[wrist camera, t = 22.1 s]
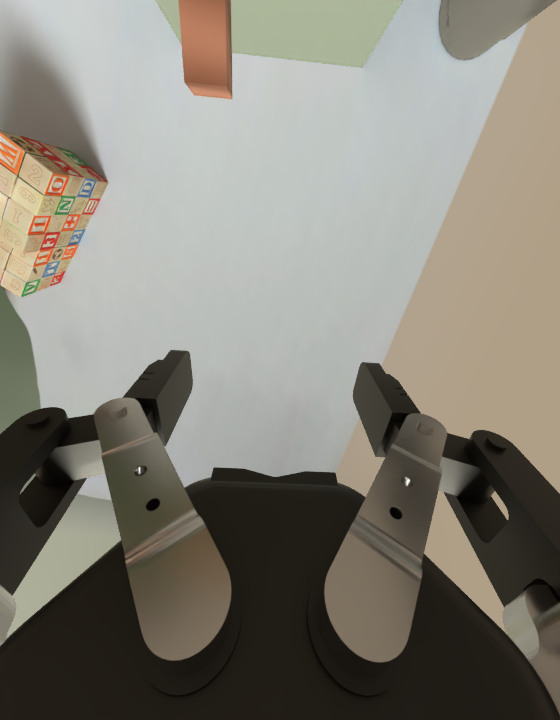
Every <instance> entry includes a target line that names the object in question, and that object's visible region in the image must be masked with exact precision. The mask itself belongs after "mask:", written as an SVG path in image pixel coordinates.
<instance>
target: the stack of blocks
mask: <svg viewBox="0 0 560 720" xmlns="http://www.w3.org/2000/svg"><path fill="white" fill-rule="evenodd" d="M107 185H108V182H107V181H106V180H105V179H103V178H102V177H101V176H100V175H99V174H97V173H96V172H95V171H94V170H92V169H91V168H90V167H88V166H87V165H86V164H85V163H84V162H82V161H81V160H80V159H79V158H78V157H76V156H75V155H74V154H73V153H72V152H70V151H68V150H65V149H62V148H58V147H54V146H51V145H47V144H44V143H41V142H38V141H35V140H32V139H29V138H25V137H22V136H17V135H13V134H10V133H7V132H4V131H0V285H1V286H3V287H4V288H6V289H8V290H9V291H11V292H13V293H14V294H16V295H18V296H19V297H23V296H26V295H29V294H32V293H35V292H36V291H38V290H41V289H44V288H47V287H49V286H52V285H55V284H58V283H60V282H61V280H62V277H63V275H64V273H65V270H67V268H68V266H69V264H70V262H71V259H72V257H73V255H74V253H75V251H76V249H77V247H78V245H79V244H78V243H79V242H80V240H81V238H82V235H83V233H84V231H85V229H86V227H87V225H88V223H89V220H90V218H91V216H92V214H93V213H94V211H95V209H96V207H97V205H98V203H99V201H100V198H101V197H102V195H103V193H104V191H105V189H106V187H107Z"/></svg>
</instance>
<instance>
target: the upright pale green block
mask: <svg viewBox="0 0 560 720" xmlns="http://www.w3.org/2000/svg"><path fill="white" fill-rule="evenodd" d="M156 2H157V4H158V5H159V7H160V9H161V11H162V12H163V14H164V16H165V17H166V19H167V21H168V23H169V24H170V26H171V28H172V29H173V31H174V33H175V35H176V36H177V38H178V40H179V41H180V43H181V45H182V42H181V29H180V15H179V2H178V0H156ZM402 2H403V0H231V36H232V53H238V54H247V55H256V56H264V57H273V58H282V59H290V60H299V61H308V62H316V63H325V64H334V65H343V66H351V67H360V68H363V66H364V64H365V63H366V61H367V59H368V58H369V56H370V54H371V53H372V51H373V49H374V48H375V46H376V44H377V43H378V41H379V39H380V38H381V36H382V35H383V33H384V31H385V30H386V28H387V26H388V25H389V23H390V21H391V20H392V18H393V16H394V15H395V13H396V11H397V10H398V8H399V6H400V5H401V3H402Z"/></svg>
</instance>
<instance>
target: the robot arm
mask: <svg viewBox="0 0 560 720" xmlns="http://www.w3.org/2000/svg"><path fill="white" fill-rule="evenodd" d="M555 1H556V0H442V3H441V8H440V14H439V31H440V37H441V40H442V44H443V45H444V47H445V49H446V51H447V52H448V53H449V54H450V55H451V56H453V57H455V58H457V59H461V60H468V59H473V58H475V57H478V56H480V55H481V54H483V53H484V52H486V51H487V50H488V49H490V48H491V47H492V46H494V45H495V44H496V43H498V42H499V41H500V40H502V39H505V38H507V37H508V36H509V35H511V34H512V33H513V32H515V31H516V30H518V29H519V28H520V27H522V26H523V25H524V24H526V23H527V22H528V21H530V20H531V19H532V18H534V17H535V16H536V15H538V14H539V13H540V12H541V11H543V10H544V9H546V8H547V7H548V6H550V5H551V4H552V3H554V2H555ZM192 385H193V379H192V369H191V360H190V353H189V352H188V351H180V350H171V351H170V352H169V353H168V354H167V356H166V357H165V358H164V360H157V361H156V362H154V363H152V364H151V365H149V366H148V367H147V368H146V370H145V371H144V372H143V374H141V376H140V377H139V379H138V380H137V381H136V382H135V383H134V384H133V385H132V387H131V388H130V389H129V390H128V392H127V393H126V394H125V395H124V397H123V398H117V399H113V400H110V401H108V402H106V403H104V404H102V405H101V406H100V407H99V408H97V410H96V411H95V413H94V414H93V415H87V416H81V417H74V418H68V417H67V414H66V412H65V411H64V410H63V409H61V408H57V407H49V408H43V409H39V410H35V411H32V412H30V413H28V414H26V415H24V416H22V417H20V418H19V419H17V420H16V421H15V422H14V423H13V424H11V425H10V426H9V427H8V428H7V429H6V430H5V431H3V432H2V433H1V434H0V720H560V494H559V493H558V492H557V491H556V490H555V489H554V488H553V486H552V485H551V484H550V483H549V482H548V481H547V480H546V479H545V478H544V477H543V476H542V475H541V473H540V472H539V471H538V470H537V469H536V468H535V467H534V466H533V465H532V464H531V463H530V462H529V460H528V459H527V458H526V457H525V456H524V455H523V454H522V453H521V452H520V451H519V450H518V449H517V448H516V447H515V446H514V445H513V444H512V443H511V442H510V441H508V440H507V439H505V438H503V437H502V436H500V435H498V434H496V433H493V432H490V431H485V430H477V431H474V432H473V433H472V435H471V437H470V439H467V438H463V437H459V436H456V435H452V434H449V433H447V431H446V429H445V427H444V426H443V425H442V424H441V423H440V422H439V421H437V420H436V419H434V418H432V417H430V416H427V415H424V414H421V413H420V411H419V410H418V409H417V407H416V406H415V404H414V403H413V401H412V400H411V399H410V397H409V396H407V393H406V391H405V390H404V389H403V387H402V386H401V384H400V383H399V382H398V380H396V379H395V378H394V377H392V376H391V375H390V374H386V373H385V372H384V370H383V369H382V367H381V366H380V364H379V363H366V362H362V363H361V365H360V367H359V371H358V375H357V379H356V382H355V386H354V390H353V400H354V403H355V406H356V408H357V411H358V413H359V416H360V419H361V421H362V424H363V426H364V428H365V430H366V433H367V436H368V439H369V441H370V444H371V446H372V449H373V451H374V454H375V456H376V457H385V460H384V461H383V464H382V466H381V468H380V470H379V472H378V474H377V476H376V478H375V480H374V482H373V484H372V486H371V488H370V490H369V492H368V494H367V496H366V497H364V496H363V495H362V494H360V493H358V492H357V491H355V490H354V489H352V488H350V487H348V486H345V485H343V484H340V483H337V478H336V474H335V473H331V472H307V471H306V472H301V473H295V474H290V475H285V476H280V477H272V476H268V475H264V474H261V473H257V472H254V471H250V470H246V469H237V468H213V472H212V476H211V478H206V479H203V480H200V481H197V482H195V483H193V484H190V485H189V486H187V487H185V488H184V486H183V484H182V482H181V480H180V478H179V476H178V474H177V472H176V470H175V468H174V466H173V464H172V462H171V460H170V458H169V456H168V454H167V452H166V450H165V448H164V446H166V444H167V442H168V440H169V438H170V436H171V434H172V432H173V430H174V427H175V425H176V423H177V421H178V419H179V417H180V415H181V412H182V410H183V408H184V406H185V404H186V402H187V400H188V398H189V395H190V393H191V390H192ZM34 473H35V474H36V476H35V477H34V479H33V480H32V481H31V482H30V483H29V485H28V486H27V487H26V488H25V489H24V491H23V492H22V493H21V494H20V492H21V490H22V488H23V486H24V485H25V483H26V482H27V481H28V480H29V479H30V478H31V476H32V475H33V474H34ZM101 474H106V478H107V482H108V486H109V490H110V495H111V499H112V503H113V507H114V511H115V515H116V520H117V524H118V528H119V532H120V536H121V541H120V542H118V543H117V544H116V545H115V546H114V547H113V548H111V549H110V550H109V551H108V552H107V553H106V554H104V555H103V556H102V557H101V558H100V559H98V560H97V561H96V562H95V563H94V564H93V565H91V566H90V567H89V568H88V569H87V570H85V571H84V572H83V573H82V574H81V575H80V576H78V577H77V578H76V579H75V580H74V581H73V582H72V583H70V584H69V585H68V586H67V587H65V588H64V589H63V590H62V591H61V592H60V593H59V594H57V595H56V596H55V597H54V598H53V599H51V600H50V601H49V602H48V603H47V604H46V605H44V606H43V607H42V608H41V609H40V610H39V611H37V612H36V613H35V614H34V615H33V616H31V617H30V618H29V619H28V620H27V621H26V622H24V623H23V624H22V625H21V626H20V627H19V628H18V629H17V630H16V631H15V632H13V633H12V634H11V635H10V636H9V638H7V632H8V630H9V627H10V626H11V623H12V621H13V618H14V615H15V611H16V602H15V599H14V598H13V594H14V592H15V591H16V589H17V588H18V586H19V585H20V583H21V581H22V580H23V578H24V577H25V575H26V573H27V572H28V570H29V569H30V567H31V566H32V564H33V562H34V561H35V559H36V558H37V556H38V555H39V553H40V551H41V550H42V548H43V547H44V545H45V543H46V542H47V540H48V539H49V537H50V536H51V534H52V532H53V531H54V529H55V528H56V526H57V524H58V523H59V521H60V520H61V518H62V517H63V515H64V513H65V512H66V510H67V509H68V507H69V506H70V504H71V502H72V501H73V499H74V498H75V496H76V494H77V493H78V491H79V490H80V488H81V487H82V485H83V483H84V482H85V480H86V479H87V477H92V476H96V475H101ZM438 490H439V491H443V492H444V494H445V496H446V498H447V499H448V501H449V503H450V505H451V507H452V509H453V511H454V513H455V515H456V517H457V519H458V520H459V522H460V524H461V526H462V528H463V530H464V532H465V534H466V536H467V537H468V539H469V541H470V543H471V545H472V547H473V549H474V551H475V553H476V555H477V557H478V559H479V560H480V562H481V564H482V566H483V568H484V570H485V572H486V574H487V575H488V578H489V579H490V581H491V583H492V585H493V587H494V589H495V591H496V593H497V595H498V597H499V598H500V600H501V602H502V604H503V606H504V610H503V623H504V627H505V630H506V632H507V634H506V633H505V632H504V631H503V630H502V629H501V628H500V627H499V626H498V625H497V624H496V623H495V622H494V621H493V620H492V619H491V618H489V616H487V615H486V614H485V613H484V612H483V611H482V610H481V609H480V608H479V607H478V606H477V605H476V604H475V603H474V602H473V601H472V600H471V599H470V598H469V597H468V596H467V595H466V594H465V593H464V592H463V591H462V590H461V589H460V588H459V587H458V586H457V585H456V584H455V583H454V582H453V581H452V580H451V579H449V578H448V577H447V576H446V575H445V574H444V573H443V572H442V571H441V570H440V569H439V568H438V567H437V566H436V565H435V564H434V563H433V562H432V561H431V560H430V559H429V558H428V557H427V556H426V555H425V554H424V550H425V545H426V541H427V536H428V532H429V528H430V524H431V519H432V514H433V511H434V506H435V502H436V498H437V494H438ZM494 491H496V492H497V494H498V495H499V497H500V498H501V500H502V501H503V502H504V504H505V506H506V507H507V510H508V514H509V520H507V519H506V518H505V516H504V515H503V513H502V512H501V510H500V509H499V507H498V506H497V505H496V503H495V501H494V500H493V499H492V497H491V495H492V494H493V493H494ZM6 638H7V639H6Z"/></svg>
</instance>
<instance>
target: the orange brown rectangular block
mask: <svg viewBox="0 0 560 720" xmlns="http://www.w3.org/2000/svg"><path fill="white" fill-rule="evenodd" d="M178 2H179V15H180V29H181V42H182V55H183V68H184V81H185V83H186V85H187V86H188V88H189V89H190V90H191V92H192V93H193V94H194V95H196V96H206V97H216V98H225V99H232V36H231V0H178Z"/></svg>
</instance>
